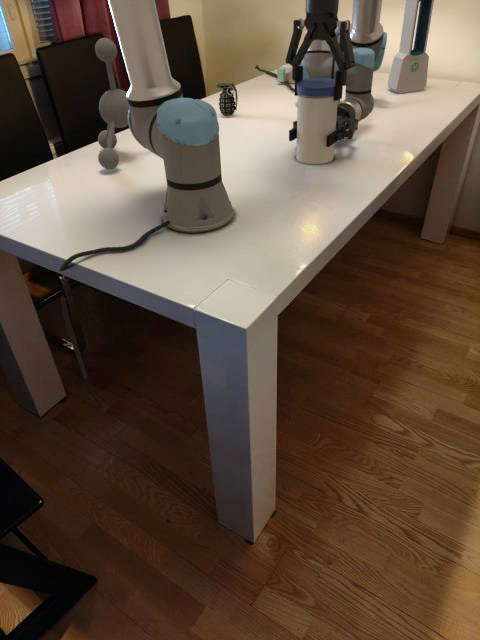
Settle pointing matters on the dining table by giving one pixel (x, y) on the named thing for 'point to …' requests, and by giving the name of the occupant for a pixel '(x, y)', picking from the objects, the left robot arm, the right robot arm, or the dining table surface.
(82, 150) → the dining table surface
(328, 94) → the lid
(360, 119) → the right robot arm
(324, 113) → the jar
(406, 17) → the electronic device
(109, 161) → the molecular model
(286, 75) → the decorative block
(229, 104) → the grenade
